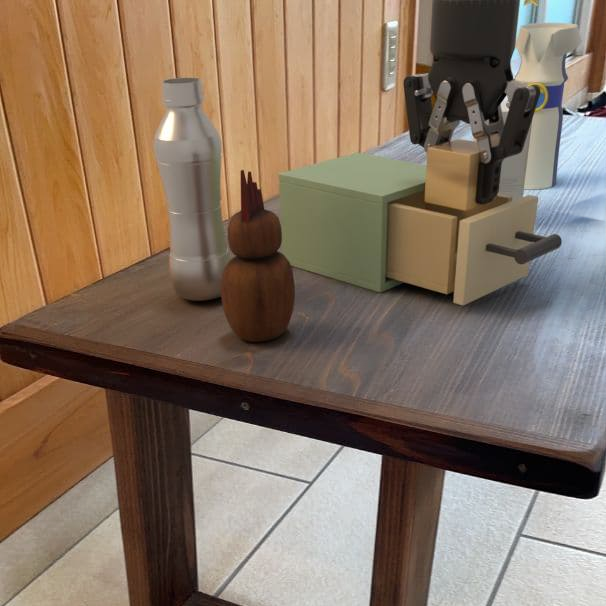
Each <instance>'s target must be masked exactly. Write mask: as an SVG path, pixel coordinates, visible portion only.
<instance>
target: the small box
mask: <svg viewBox="0 0 606 606" xmlns="http://www.w3.org/2000/svg"><path fill="white" fill-rule="evenodd" d="M507 102H508V99H504V100H503V101H502V103H501V109H502V115H503V121H504V125H505V121H506V118H507V114H508V111H509V108H507V106H506V103H507ZM485 123H486V124H487V125H488V124H489V119H488V120H486V121H485ZM531 125H532V122H531ZM531 125H530V128H529V131H528V134H527V137H526V141H525V144H524V147H523V150H522V152H521V153H520V154H517V155H514V156H510V157H507V158H505V159H504V160H503V161H502V165H501V174H500V184H499V192H498V194H503V195H508V196H512V201H514V200H516V199H519V198H522V197H524V190H525V189H524V182H525V174H526V166H527V158H528V150H529V141H530V133H531ZM472 141H475V142H477V140H476V139H475V138H474V137H473V140H472Z"/></svg>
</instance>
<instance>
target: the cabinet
mask: <svg viewBox="0 0 606 606" xmlns="http://www.w3.org/2000/svg"><path fill="white" fill-rule="evenodd" d="M426 166H427V164H422V163H417V162H412V161H407V160H401V159H394V158H391V157H384V156H379V155H372V154H369V153H361V152H353V153H349V154H347V155H343V156H339V157H335V158H332V159H327V160H323V161H320V162H315V163H312V164H309V165H305V166H301V167H298V168H294V169H291V170H287V171H283V172H279V173H278V195H279V215H280V216H279V217H280V218H279V221H280V224H281V231H282V243H281V253H282V254H283V255H285V257H286V258H287V259H288V261H289V262H290V265H291V267H294V268H298V269H301V270H303V271H308V272H311V273H313V274H317V275H320V276H324V277H327V278H330V279H334V280H337V281H341V282H343V283H347V284H350V285H354V286H358V287H360V288H364V289H367V290H370V291H373V292H377V293H383V292H385V291H388V290H390V289H393V288H395V287H397V286H400V285H402V284H404V283H405V282H402V281H398V280H395V279H391V278H388V277H385V273H386V239H387V203H388V202H391V201H394V200H397V199H400V198H403V197H406V196H409V195H412V194H415V193H418V192H421V191H424V190H425V184H426Z"/></svg>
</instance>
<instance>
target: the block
mask: <svg viewBox="0 0 606 606" xmlns="http://www.w3.org/2000/svg"><path fill="white" fill-rule="evenodd" d="M481 162H482V161H481V160H480V155H479V150H478V144H477V142H475V141H473V140H467V139H463V138H458V139H454V140H451V141H450V142H447V143H443V144H440V145H436V146H432V147H429V148H428V149H427V153H426V165H427V166H426V184H425V202H426V203H431V204H435V205H440V206H444V207H449V208H454V209H458V210H463V211H467V210H470V209H473V208H475V207H478V206H481V205H482V204H477V203H476V202H475V198H476V187H477V175H478V164H479V163H481ZM495 200H496V196H495V197H494V199H493V201H495Z"/></svg>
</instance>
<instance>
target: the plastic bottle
mask: <svg viewBox="0 0 606 606" xmlns="http://www.w3.org/2000/svg"><path fill="white" fill-rule="evenodd" d="M161 91H162V98H161V100H162V105H163V106H165V108H166V109H165V112H164V115H163V116H162V119H161V120H160V122H159V125H158V127H157V130H156V132H155V134H154V139H153V145H152V146H153V152H154V157H155V161H156V165H157V168H158V173H159V176H160V180H161V185H162V188H163V194H164V199H165V200H164V201H165V204H166V207H167V208H166V211H167V217H168V229H169V230H168V231H169V232H168V233H169V251H170V252H169V258H168V276H169V279H170V283H171V286H172V289H173V290H174V292H175V293H176V294H177V295H178V296H179V297H180V298H181V299H184V300H188V301H208V300H209V301H210V300H213V299H217V298H220V297H221V277H222V274H223V271H224V267H225V266H226V265H227V263H228V262H229V261H230V260H231V259H232V258H231V254H230V251H229V247H228V245H227V239H226V232H225V227H224V220H223V215H222V212H223V211H222V203H221V201H222V192H221V191H222V189H221V176H222V153H223V149H222V147H223V145H222V139H221V136H220V133H219V131H218V129H217V127H216V126H215V125H214V123H213V121H212V120H211V119H210V117H209V116H208V114H207V113H206V112H205V111H204V110H203V106H202V104H203V103H205V95H204V94H203V93H204V92H203V91H204V90H203V81H202V79H201V78H198V77H175V78H167V79H163V80H162V81H161Z"/></svg>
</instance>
